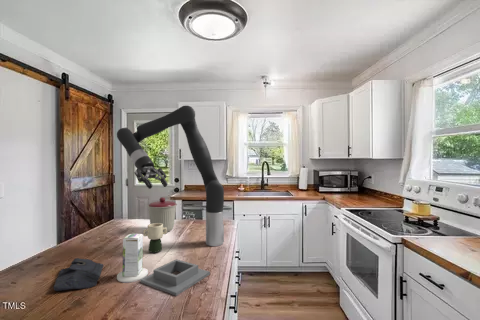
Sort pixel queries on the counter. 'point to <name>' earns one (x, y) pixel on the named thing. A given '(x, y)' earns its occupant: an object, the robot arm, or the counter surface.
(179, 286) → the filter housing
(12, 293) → the counter surface
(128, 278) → the rubber pad
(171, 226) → the canister
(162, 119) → the robot arm
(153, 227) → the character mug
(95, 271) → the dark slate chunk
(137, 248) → the syrup box
